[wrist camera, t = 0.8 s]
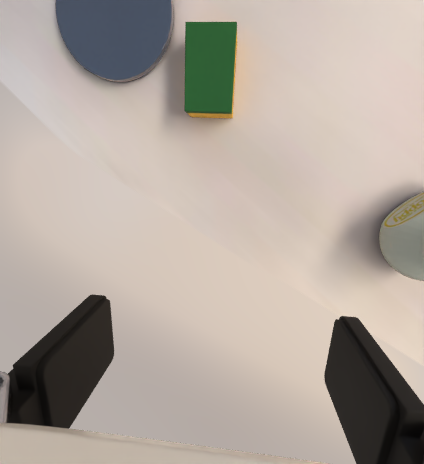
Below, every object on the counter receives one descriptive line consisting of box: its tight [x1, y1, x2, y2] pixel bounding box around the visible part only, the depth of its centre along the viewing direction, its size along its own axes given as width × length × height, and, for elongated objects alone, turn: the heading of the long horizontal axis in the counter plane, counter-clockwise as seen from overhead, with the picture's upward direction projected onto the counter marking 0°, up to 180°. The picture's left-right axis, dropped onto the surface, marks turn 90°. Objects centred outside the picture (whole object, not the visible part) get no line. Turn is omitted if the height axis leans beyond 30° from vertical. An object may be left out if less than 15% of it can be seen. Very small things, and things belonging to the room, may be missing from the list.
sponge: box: [185, 22, 237, 118], centre depth 28 cm, size 8×5×4 cm, turn 178°
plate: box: [56, 0, 174, 82], centre depth 28 cm, size 13×13×2 cm
